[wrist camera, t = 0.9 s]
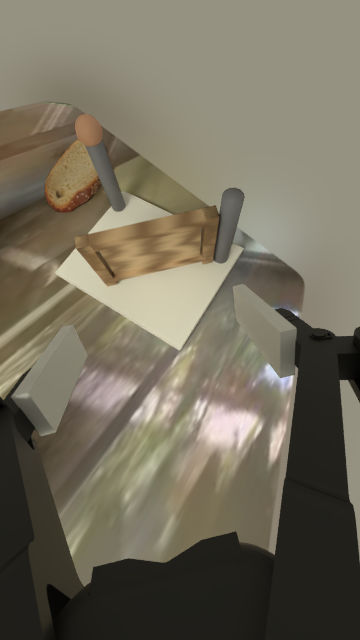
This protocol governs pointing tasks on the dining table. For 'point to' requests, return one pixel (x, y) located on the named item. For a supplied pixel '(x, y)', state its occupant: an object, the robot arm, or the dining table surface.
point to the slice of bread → (72, 179)
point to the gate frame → (159, 287)
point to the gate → (151, 245)
